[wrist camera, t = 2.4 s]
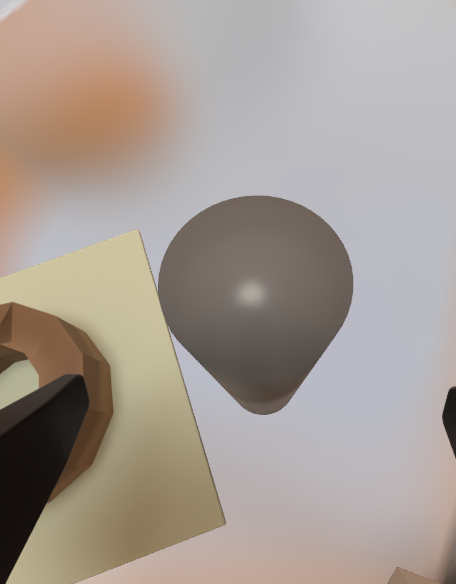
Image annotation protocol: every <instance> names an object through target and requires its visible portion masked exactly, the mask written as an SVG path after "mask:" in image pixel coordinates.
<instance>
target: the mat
mask: <svg viewBox="0 0 456 584" xmlns="http://www.w3.org/2000/svg"><path fill="white" fill-rule="evenodd" d="M10 302H15V303H18V304H21V305H24V306H27V307H30V308H33V309H36V310H40V311H43V312H46V313H49V314H52V315H55V316H57V317H59V318H60V319H62V320H64V321H66V322H68V323H70V324H71V325H73V326H75V327H77V328H79V329H80V330H82V331H84V332H86V334H87V335H88V336H89V338H90V339H91V340H92V342H93V343H94V344H95V346H96V347H97V348H98V350H99V351H100V353H101V354H102V355H103V357H104V358H105V359H106V361H107V362H108V363H109V365H110V372H111V386H112V399H113V412H114V413H113V416H112V418H111V421H110V423H109V426H108V428H107V430H106V433H105V435H104V438H103V440H102V442H101V445H100V447H99V449H98V452H97V454H96V457H95V459H94V461H93V464H92V465H91V466H90V467H89V468H88V469H87V470H85V471H84V472H83V473H82V474H81V475H80V476H79V477H78V478H77V479H75V480H74V481H73V482H72V483H71V484H70V485H69V486H68V487H66V488H65V489H64V490H63V491H62V492H61V493H60V494H59V495H58V496H56V497H55V498H54V499H53V500H52V501H51V502H49V503H47V504H46V506H45V508H44V510H43V512H42V513H41V515H40V517H39V519H38V521H37V523H36V525H35V527H34V529H33V531H32V533H31V535H30V537H29V539H28V541H27V543H26V545H25V547H24V549H23V551H22V553H21V555H20V557H19V559H18V561H17V563H16V564H15V566H14V568H13V570H12V572H11V574H10V576H9V578H8V580H7V582H6V584H74V583H77V582H79V581H81V580H84V579H87V578H89V577H92V576H94V575H97V574H100V573H102V572H105V571H107V570H110V569H113V568H115V567H118V566H120V565H123V564H125V563H128V562H130V561H133V560H136V559H138V558H141V557H143V556H146V555H148V554H151V553H154V552H156V551H159V550H161V549H164V548H166V547H169V546H171V545H174V544H177V543H179V542H182V541H185V540H187V539H190V538H192V537H195V536H197V535H200V534H203V533H205V532H208V531H210V530H213V529H215V528H218V527H220V526H223V525H225V524H226V521H225V518H224V514H223V511H222V508H221V504H220V501H219V497H218V494H217V491H216V487H215V484H214V481H213V477H212V474H211V471H210V467H209V464H208V460H207V457H206V453H205V450H204V447H203V443H202V440H201V437H200V433H199V430H198V426H197V423H196V420H195V416H194V413H193V410H192V407H191V403H190V399H189V396H188V393H187V389H186V386H185V383H184V379H183V376H182V372H181V369H180V366H179V362H178V359H177V356H176V352H175V349H174V346H173V342H172V339H171V335H170V332H169V329H168V325H167V323H166V321H165V318H164V316H163V313H162V310H161V306H160V301H159V295H158V292H157V288H156V285H155V281H154V278H153V275H152V271H151V268H150V265H149V262H148V258H147V255H146V251H145V248H144V245H143V241H142V238H141V235H140V232H139V230H138V229H136V230H133V231H131V232H128V233H125V234H122V235H119V236H117V237H114V238H111V239H108V240H105V241H103V242H100V243H97V244H95V245H92V246H89V247H86V248H83V249H80V250H78V251H75V252H72V253H69V254H66V255H64V256H61V257H58V258H55V259H52V260H50V261H47V262H44V263H41V264H38V265H36V266H33V267H30V268H27V269H24V270H22V271H19V272H16V273H13V274H10V275H8V276H5V277H2V278H0V305H1V304H5V303H10ZM37 389H39V375H38V373H37V372H36V370H35V369H34V367H33V366H32V364H31V363H30V361H29V359H28V360H24V361H19V362H15V363H14V364H12V365H11V366H10V367H9V368H7V369H6V370H5V371H4V372H2V373H1V374H0V409H2V408H4V407H6V406H8V405H9V404H11V403H13V402H15V401H17V400H19V399H20V398H22V397H24V396H26V395H28V394H30V393H31V392H33V391H35V390H37Z"/></svg>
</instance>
